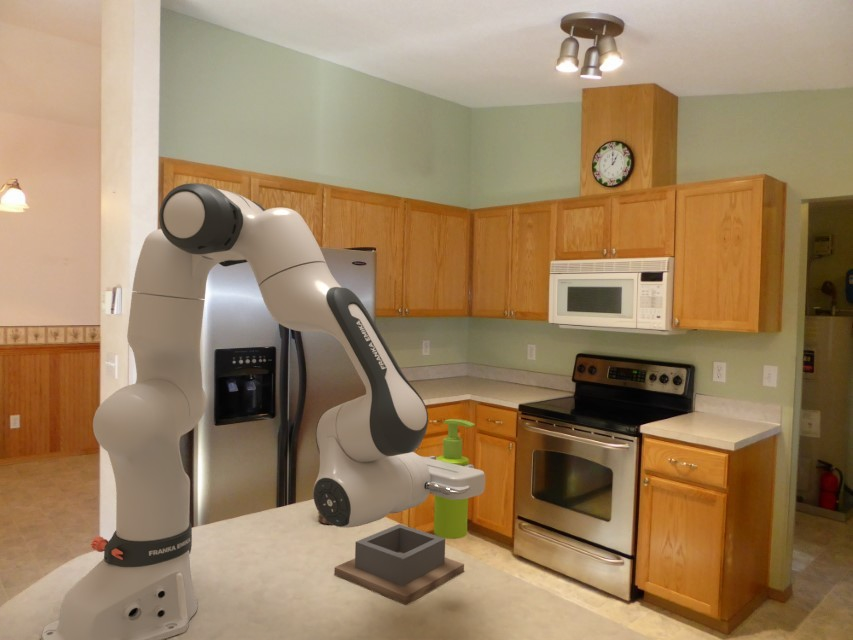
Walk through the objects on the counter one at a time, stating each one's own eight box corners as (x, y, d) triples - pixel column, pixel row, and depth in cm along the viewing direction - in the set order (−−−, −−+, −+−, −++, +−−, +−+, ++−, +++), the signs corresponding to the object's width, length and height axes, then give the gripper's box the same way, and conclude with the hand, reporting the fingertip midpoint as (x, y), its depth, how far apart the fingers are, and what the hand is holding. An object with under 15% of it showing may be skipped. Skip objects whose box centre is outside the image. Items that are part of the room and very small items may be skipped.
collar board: (406, 605, 105) (407, 568, 105) (334, 574, 116) (335, 541, 116) (463, 571, 120) (464, 538, 120) (395, 547, 131) (395, 517, 131)
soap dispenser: (461, 542, 102) (464, 424, 102) (427, 533, 106) (430, 419, 106) (478, 533, 107) (481, 420, 107) (445, 524, 111) (448, 415, 110)
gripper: (457, 473, 90) (505, 458, 100) (358, 449, 102) (410, 437, 113) (455, 515, 90) (503, 495, 101) (357, 486, 102) (408, 471, 113)
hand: (453, 464), depth 107 cm, fingers closed on soap dispenser, 6 cm apart
